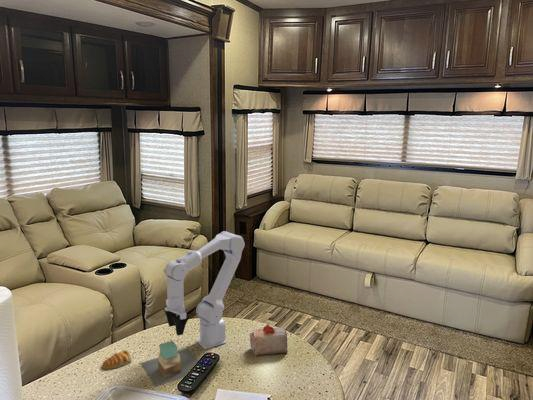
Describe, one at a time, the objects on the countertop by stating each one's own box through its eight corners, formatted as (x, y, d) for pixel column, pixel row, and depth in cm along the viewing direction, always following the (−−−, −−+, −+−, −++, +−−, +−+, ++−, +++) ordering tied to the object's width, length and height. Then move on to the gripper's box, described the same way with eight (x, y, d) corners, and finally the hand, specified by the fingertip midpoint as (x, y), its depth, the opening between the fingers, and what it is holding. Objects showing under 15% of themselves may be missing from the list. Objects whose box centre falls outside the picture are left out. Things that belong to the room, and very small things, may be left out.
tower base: (174, 363, 143) (174, 355, 142) (181, 372, 138) (181, 364, 138) (158, 369, 140) (157, 361, 139) (164, 377, 135) (164, 369, 134)
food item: (252, 358, 148) (252, 333, 146) (249, 347, 155) (249, 323, 154) (288, 354, 151) (289, 330, 149) (283, 343, 158) (284, 320, 157)
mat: (187, 349, 153) (187, 348, 153) (206, 370, 140) (206, 369, 140) (140, 363, 143) (140, 362, 143) (155, 387, 130) (155, 386, 130)
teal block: (172, 349, 141) (172, 340, 140) (177, 355, 137) (177, 346, 136) (160, 353, 138) (159, 344, 138) (164, 359, 135) (164, 350, 134)
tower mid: (174, 356, 142) (173, 348, 142) (180, 363, 138) (180, 355, 137) (158, 361, 139) (158, 353, 138) (164, 369, 135) (164, 360, 134)
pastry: (107, 374, 137) (106, 363, 137) (99, 365, 142) (98, 355, 142) (133, 363, 144) (132, 353, 143) (125, 356, 149) (124, 346, 148)
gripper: (157, 290, 148) (158, 324, 150) (172, 304, 136) (172, 341, 139) (176, 286, 152) (176, 320, 154) (191, 299, 140) (192, 336, 143)
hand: (176, 330), depth 147 cm, fingers open, 7 cm apart
